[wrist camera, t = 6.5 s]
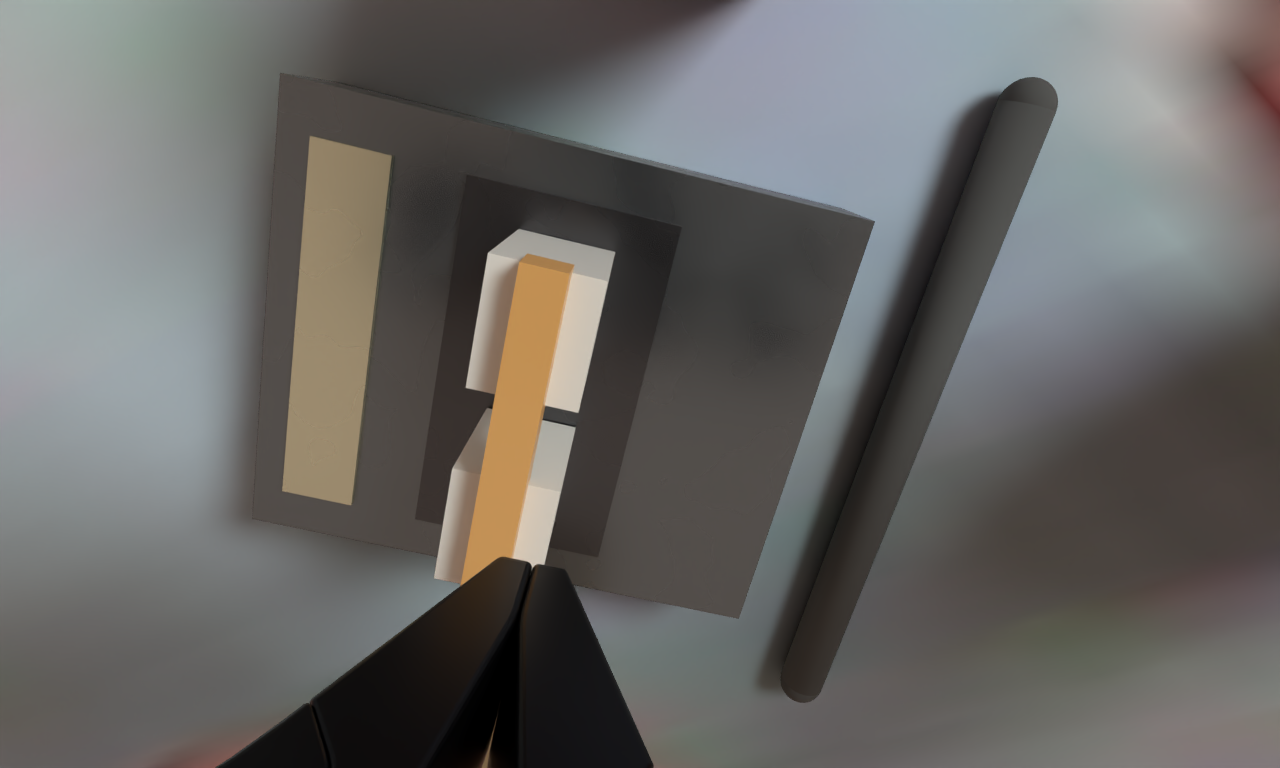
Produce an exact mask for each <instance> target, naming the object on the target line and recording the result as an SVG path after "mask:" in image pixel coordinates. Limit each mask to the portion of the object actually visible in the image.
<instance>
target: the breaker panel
mask: <svg viewBox="0 0 1280 768" xmlns="http://www.w3.org/2000/svg"><path fill="white" fill-rule="evenodd" d="M874 222H875V221H872V220H870V219H867V218H865V217H862V216H860V215H857V214H855V213H852V212H850V211H847V210H845V209H842V208H838V207H834V206H830V205H826V204H822V203H818V202H814V201H810V200H806V199H802V198H798V197H794V196H790V195H786V194H782V193H778V192H774V191H770V190H766V189H762V188H758V187H754V186H750V185H746V184H742V183H738V182H734V181H730V180H726V179H722V178H718V177H714V176H710V175H706V174H702V173H698V172H694V171H690V170H686V169H682V168H678V167H674V166H670V165H666V164H662V163H658V162H654V161H650V160H646V159H642V158H638V157H634V156H630V155H626V154H622V153H618V152H614V151H610V150H606V149H602V148H598V147H594V146H590V145H586V144H582V143H578V142H574V141H570V140H566V139H562V138H558V137H554V136H550V135H546V134H542V133H538V132H534V131H530V130H526V129H522V128H518V127H514V126H510V125H506V124H502V123H498V122H494V121H490V120H486V119H482V118H478V117H474V116H470V115H466V114H462V113H458V112H454V111H450V110H446V109H442V108H438V107H434V106H430V105H426V104H422V103H418V102H414V101H410V100H406V99H402V98H398V97H394V96H390V95H386V94H382V93H378V92H374V91H370V90H366V89H362V88H358V87H354V86H350V85H346V84H342V83H338V82H334V81H327V80H321V79H315V78H308V77H302V76H295V75H289V74H283V73H280V86H279V102H278V118H277V134H276V150H275V165H274V181H273V197H272V213H271V229H270V245H269V261H268V277H267V293H266V309H265V325H264V340H263V356H262V372H261V388H260V404H259V420H258V436H257V452H256V468H255V484H254V500H253V515H252V519H256V520H261V521H266V522H270V523H275V524H280V525H285V526H290V527H295V528H300V529H305V530H309V531H314V532H319V533H324V534H329V535H334V536H339V537H344V538H348V539H353V540H358V541H363V542H368V543H373V544H378V545H383V546H387V547H392V548H397V549H402V550H407V551H412V552H417V553H421V554H426V555H431V556H436V557H438V551H439V545H440V539H441V533H442V527H443V521H444V515H445V509H446V503H447V497H448V491H449V485H450V479H451V473H452V468H453V466H454V465H455V463H456V461H457V459H458V458H459V456H460V454H461V452H462V451H463V449H464V447H465V445H466V444H467V442H468V440H469V438H470V437H471V435H472V433H473V431H474V430H475V428H476V426H477V424H478V423H479V421H480V419H481V417H482V416H483V414H484V412H485V410H486V409H487V408H490V409H493V403H494V398H495V394H491V393H487V392H482V391H478V390H473V389H469V388H466V382H467V376H468V370H469V364H470V358H471V352H472V346H473V340H474V334H475V328H476V322H477V316H478V310H479V304H480V298H481V292H482V286H483V280H484V274H485V268H486V262H487V255H488V252H490V251H491V250H492V249H494V248H495V247H496V246H497V245H499V244H500V243H501V242H503V241H504V240H505V239H506V238H508V237H509V236H510V235H512V234H513V233H514V232H515V231H517V230H518V229H522V230H526V231H530V232H534V233H538V234H542V235H547V236H551V237H555V238H559V239H563V240H567V241H572V242H576V243H580V244H584V245H588V246H592V247H597V248H601V249H605V250H609V251H613V252H615V256H614V260H613V265H612V269H611V273H610V278H609V282H608V287H607V291H606V296H605V300H604V304H603V309H602V313H601V318H600V322H599V327H598V331H597V336H596V340H595V344H594V349H593V353H592V358H591V362H590V366H589V370H588V375H587V379H586V383H585V387H584V391H583V395H582V400H581V404H580V408H579V412H578V413H577V412H572V411H568V410H563V409H559V408H554V407H550V406H545V410H544V415H543V419H542V420H544V421H549V422H553V423H558V424H562V425H567V426H571V427H576V429H575V433H574V437H573V442H572V446H571V451H570V455H569V460H568V464H567V468H566V473H565V477H564V482H563V486H562V491H561V495H560V499H559V504H558V508H557V513H556V517H555V522H554V526H553V530H552V534H551V539H550V543H549V547H548V551H547V556H546V560H545V564H544V565H547V566H552V567H557V568H561V569H564V570H566V571H567V573H568V575H569V577H570V579H571V582H572V584H573V585H577V586H582V587H587V588H592V589H597V590H602V591H607V592H611V593H616V594H621V595H626V596H631V597H636V598H641V599H645V600H650V601H655V602H660V603H665V604H670V605H675V606H680V607H684V608H689V609H694V610H699V611H704V612H709V613H714V614H719V615H723V616H728V617H733V618H738V619H739V616H740V613H741V610H742V607H743V605H744V602H745V599H746V596H747V593H748V590H749V587H750V584H751V581H752V578H753V575H754V572H755V570H756V567H757V564H758V561H759V558H760V555H761V552H762V549H763V546H764V543H765V540H766V537H767V535H768V532H769V529H770V526H771V523H772V520H773V517H774V514H775V511H776V508H777V505H778V502H779V500H780V497H781V494H782V491H783V488H784V485H785V482H786V479H787V476H788V473H789V470H790V467H791V465H792V462H793V459H794V456H795V453H796V450H797V447H798V444H799V441H800V438H801V435H802V432H803V430H804V427H805V424H806V421H807V418H808V415H809V412H810V409H811V406H812V403H813V400H814V397H815V395H816V392H817V389H818V386H819V383H820V380H821V377H822V374H823V371H824V368H825V365H826V362H827V360H828V357H829V354H830V351H831V348H832V345H833V342H834V339H835V336H836V333H837V330H838V327H839V325H840V322H841V319H842V316H843V313H844V310H845V307H846V304H847V301H848V298H849V295H850V292H851V290H852V287H853V284H854V281H855V278H856V275H857V272H858V269H859V266H860V263H861V260H862V257H863V255H864V252H865V249H866V246H867V243H868V240H869V237H870V234H871V231H872V228H873V225H874Z"/></svg>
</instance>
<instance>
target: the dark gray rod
mask: <svg viewBox="0 0 1280 768" xmlns="http://www.w3.org/2000/svg"><path fill="white" fill-rule="evenodd" d="M1057 105H1058V98H1057V94H1056V91H1055V89H1054V88H1053V86H1052V85H1051V84H1050V83H1048V82H1047V81H1045V80H1043V79H1041V78H1036V77H1029V78H1023V79H1020V80H1018V81H1015V82H1014V83H1012V84H1011V85H1009V86H1008V87H1007V88H1006V89H1005V90H1004V91H1003V92H1002V94H1001V95H1000V97H999V99H998V101H997V103H996V106H995V109H994V111H993V114H992V117H991V119H990V122H989V124H988V127H987V130H986V132H985V135H984V138H983V140H982V143H981V146H980V148H979V151H978V154H977V156H976V159H975V161H974V164H973V167H972V169H971V172H970V175H969V177H968V180H967V183H966V185H965V188H964V191H963V193H962V196H961V198H960V201H959V204H958V206H957V209H956V212H955V214H954V217H953V220H952V222H951V225H950V227H949V230H948V233H947V235H946V238H945V241H944V243H943V246H942V249H941V251H940V254H939V257H938V259H937V262H936V264H935V267H934V270H933V272H932V275H931V278H930V280H929V283H928V286H927V288H926V291H925V294H924V296H923V299H922V301H921V304H920V307H919V309H918V312H917V315H916V317H915V320H914V323H913V325H912V328H911V331H910V333H909V336H908V338H907V341H906V344H905V346H904V349H903V352H902V354H901V357H900V360H899V362H898V365H897V368H896V370H895V373H894V375H893V378H892V381H891V383H890V386H889V389H888V391H887V394H886V397H885V399H884V402H883V404H882V407H881V410H880V412H879V415H878V418H877V420H876V423H875V426H874V428H873V431H872V434H871V436H870V439H869V441H868V444H867V447H866V449H865V452H864V455H863V457H862V460H861V463H860V465H859V468H858V471H857V473H856V476H855V478H854V481H853V484H852V486H851V489H850V492H849V494H848V497H847V500H846V502H845V505H844V508H843V510H842V513H841V515H840V518H839V521H838V523H837V526H836V529H835V531H834V534H833V537H832V539H831V542H830V545H829V547H828V550H827V552H826V555H825V558H824V560H823V563H822V566H821V568H820V571H819V574H818V576H817V579H816V582H815V584H814V587H813V589H812V592H811V595H810V597H809V600H808V603H807V605H806V608H805V611H804V613H803V616H802V618H801V621H800V624H799V626H798V629H797V632H796V634H795V637H794V640H793V642H792V645H791V648H790V650H789V653H788V655H787V658H786V661H785V663H784V666H783V669H782V672H781V676H780V681H781V686H782V688H783V690H784V692H785V693H786V695H787V696H788V697H789V698H791V699H792V700H794V701H797V702H801V703H806V702H810V701H812V700H814V699H815V698H816V697H817V696H818V695H819V693H820V692H821V689H822V687H823V684H824V682H825V679H826V677H827V675H828V672H829V670H830V667H831V665H832V662H833V660H834V657H835V655H836V652H837V650H838V647H839V645H840V643H841V640H842V638H843V635H844V633H845V630H846V628H847V625H848V623H849V620H850V618H851V615H852V613H853V611H854V608H855V606H856V603H857V601H858V598H859V596H860V593H861V591H862V588H863V586H864V583H865V581H866V579H867V576H868V574H869V571H870V569H871V566H872V564H873V561H874V559H875V556H876V554H877V551H878V549H879V547H880V544H881V542H882V539H883V537H884V534H885V532H886V529H887V527H888V524H889V522H890V519H891V517H892V515H893V512H894V510H895V507H896V505H897V502H898V500H899V497H900V495H901V492H902V490H903V487H904V485H905V483H906V480H907V478H908V475H909V473H910V470H911V468H912V465H913V463H914V460H915V458H916V455H917V453H918V451H919V448H920V446H921V443H922V441H923V438H924V436H925V433H926V431H927V428H928V426H929V423H930V421H931V419H932V416H933V414H934V411H935V409H936V406H937V404H938V401H939V399H940V396H941V394H942V391H943V389H944V387H945V384H946V382H947V379H948V377H949V374H950V372H951V369H952V367H953V364H954V362H955V359H956V357H957V355H958V352H959V350H960V347H961V345H962V342H963V340H964V337H965V335H966V332H967V330H968V327H969V325H970V323H971V320H972V318H973V315H974V313H975V310H976V308H977V305H978V303H979V300H980V298H981V295H982V293H983V291H984V288H985V286H986V283H987V281H988V278H989V276H990V273H991V271H992V268H993V266H994V263H995V261H996V259H997V256H998V254H999V251H1000V249H1001V246H1002V244H1003V241H1004V239H1005V236H1006V234H1007V231H1008V229H1009V227H1010V224H1011V222H1012V219H1013V217H1014V214H1015V212H1016V209H1017V207H1018V204H1019V202H1020V199H1021V197H1022V195H1023V192H1024V190H1025V187H1026V185H1027V182H1028V180H1029V177H1030V175H1031V172H1032V170H1033V167H1034V165H1035V163H1036V160H1037V158H1038V155H1039V153H1040V150H1041V148H1042V145H1043V143H1044V140H1045V138H1046V135H1047V133H1048V131H1049V128H1050V126H1051V123H1052V121H1053V118H1054V116H1055V113H1056V110H1057Z"/></svg>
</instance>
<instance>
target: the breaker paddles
mask: <svg viewBox="0 0 1280 768" xmlns="http://www.w3.org/2000/svg"><path fill="white" fill-rule="evenodd" d="M614 256H615V252H613V251H609V250H605V249H601V248H597V247H592V246H588V245H584V244H580V243H576V242H572V241H567V240H563V239H559V238H555V237H551V236H547V235H542V234H538V233H534V232H530V231H526V230H522V229H518V230H517V231H515V232H514V233H513V234H512V235H510V236H509V237H508V238H506V239H505V240H504V241H503V242H501V243H500V244H499V245H497V246H496V247H495V248H494V249H492V250H491V251H490V252H488V255H487V262H486V268H485V274H484V280H483V286H482V292H481V298H480V304H479V310H478V316H477V322H476V328H475V334H474V340H473V346H472V352H471V358H470V364H469V370H468V376H467V382H466V388H469V389H473V390H478V391H482V392H487V393H491V394H495V398H494V403H493V409H490V408H487V409H486V410H485V412H484V414H483V416H482V417H481V419H480V421H479V423H478V424H477V426H476V428H475V430H474V431H473V433H472V435H471V437H470V438H469V440H468V442H467V444H466V445H465V447H464V449H463V451H462V452H461V454H460V456H459V458H458V459H457V461H456V463H455V465H454V466H453V468H452V473H451V479H450V485H449V491H448V497H447V503H446V509H445V515H444V521H443V527H442V533H441V539H440V545H439V551H438V557H437V563H436V569H435V575H434V578H435V579H440V580H445V581H450V582H455V583H460V584H461V585H463V584H464V583H465V582H467V581H468V580H469V579H471V578H472V577H473V576H475V575H476V574H477V573H479V572H480V571H481V570H483V569H484V568H485V567H486V566H488V565H489V564H490V563H492V562H493V561H494V560H496V559H497V558H499V557H502V556H504V557H509V558H513V559H518V560H523V561H527V562H529V563H530V564H531V565H532V568H533V567H534V566H535V565H537V564H542V565H544V564H545V560H546V556H547V551H548V547H549V543H550V539H551V534H552V530H553V526H554V522H555V517H556V513H557V508H558V504H559V499H560V495H561V491H562V486H563V482H564V477H565V473H566V468H567V464H568V460H569V455H570V451H571V446H572V442H573V437H574V433H575V429H576V427H571V426H567V425H562V424H558V423H553V422H549V421H544V420H542V419H543V415H544V410H545V406H550V407H554V408H559V409H563V410H568V411H572V412H577V413H578V412H579V408H580V404H581V400H582V395H583V391H584V387H585V383H586V379H587V375H588V370H589V366H590V362H591V358H592V353H593V349H594V344H595V340H596V336H597V331H598V327H599V322H600V318H601V313H602V309H603V304H604V300H605V296H606V291H607V287H608V282H609V278H610V273H611V269H612V265H613V260H614ZM461 585H460V586H461Z"/></svg>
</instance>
